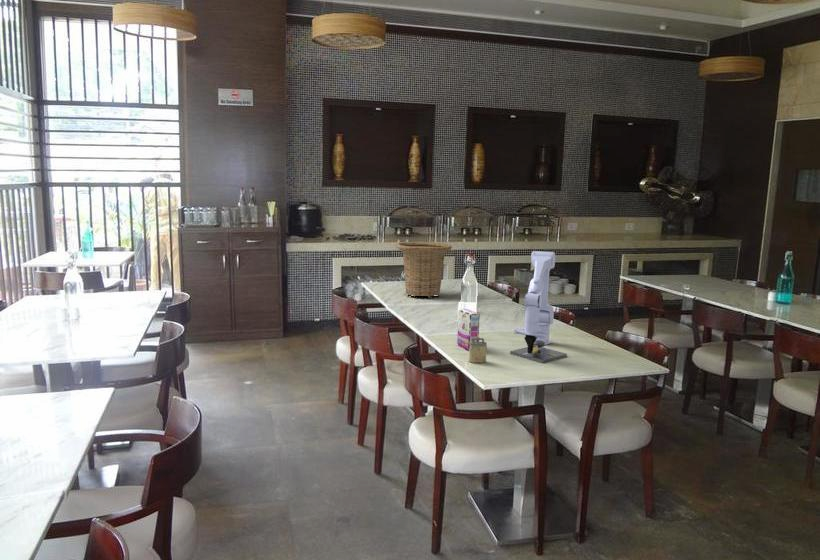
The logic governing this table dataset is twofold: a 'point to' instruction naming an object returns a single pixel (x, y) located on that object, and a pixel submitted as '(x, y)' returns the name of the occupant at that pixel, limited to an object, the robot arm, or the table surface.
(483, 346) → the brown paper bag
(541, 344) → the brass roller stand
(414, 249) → the wicker basket
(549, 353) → the lever base
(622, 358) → the table surface
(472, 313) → the candy bar box
